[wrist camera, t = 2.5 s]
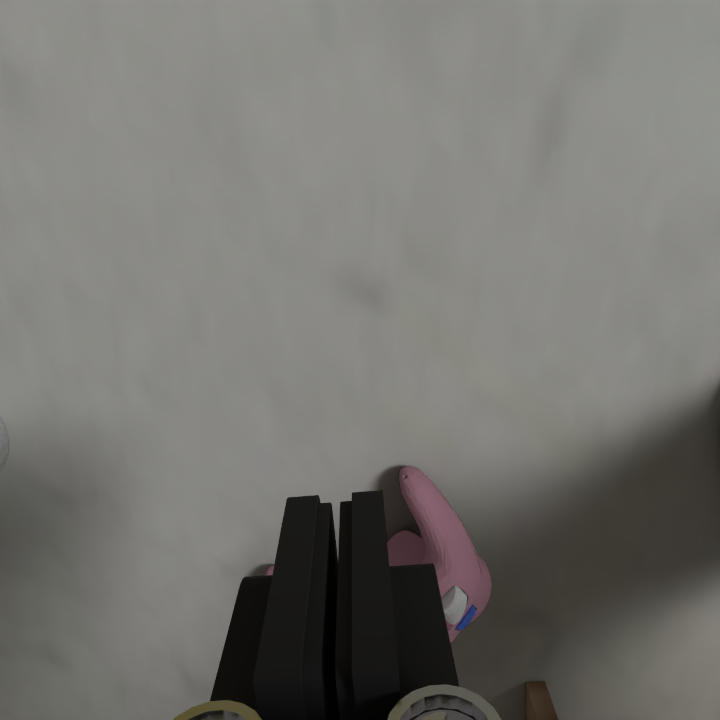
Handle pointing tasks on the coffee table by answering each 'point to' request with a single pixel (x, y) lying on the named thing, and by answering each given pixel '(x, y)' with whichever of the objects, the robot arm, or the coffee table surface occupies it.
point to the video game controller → (440, 551)
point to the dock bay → (538, 702)
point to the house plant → (3, 444)
